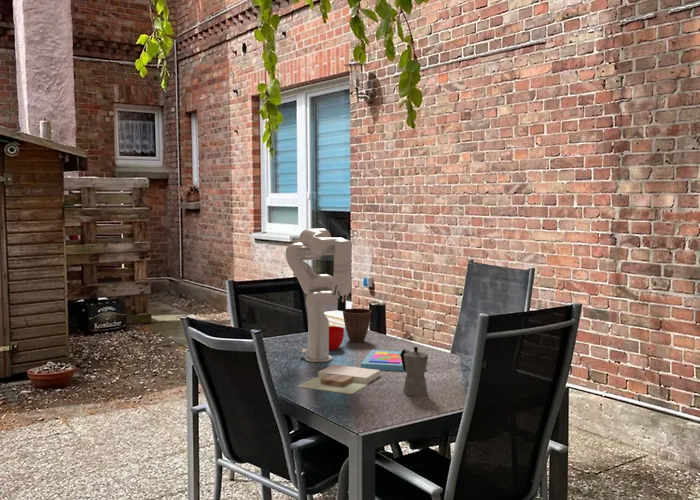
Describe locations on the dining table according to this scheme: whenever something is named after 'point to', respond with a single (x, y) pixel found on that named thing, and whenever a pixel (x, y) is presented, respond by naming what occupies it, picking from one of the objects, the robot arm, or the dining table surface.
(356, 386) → the mat
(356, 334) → the plant pot
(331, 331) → the ceramic cup
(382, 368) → the tetris game
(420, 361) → the coffeepot
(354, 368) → the board
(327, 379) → the tile
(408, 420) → the dining table surface
